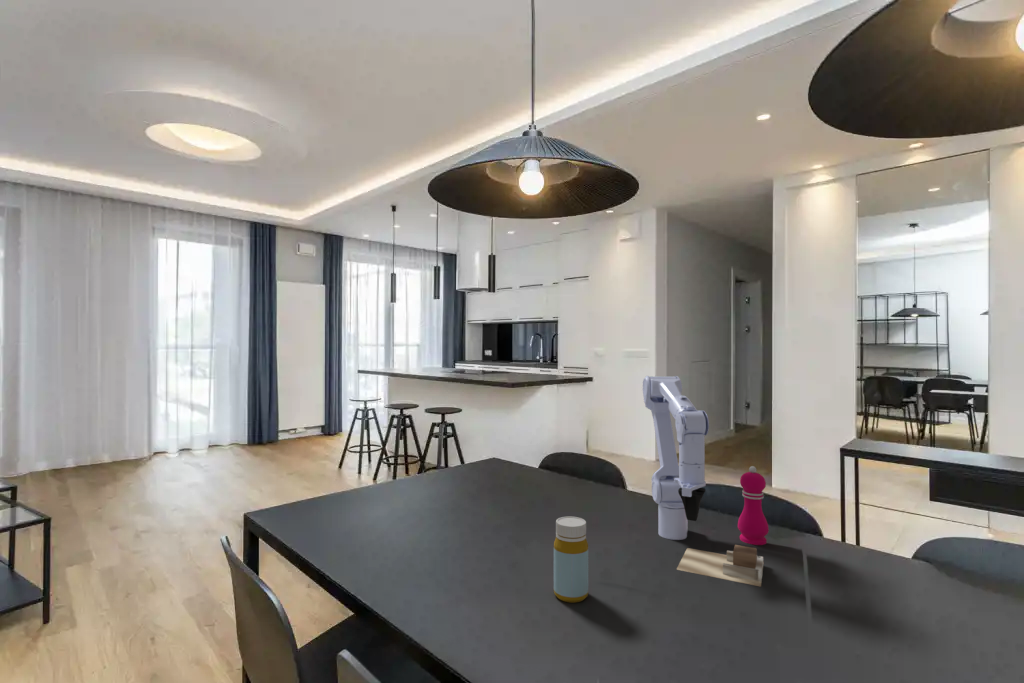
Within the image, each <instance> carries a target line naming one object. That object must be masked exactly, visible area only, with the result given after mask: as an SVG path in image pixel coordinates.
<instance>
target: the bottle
mask: <svg viewBox="0 0 1024 683" xmlns="http://www.w3.org/2000/svg"><path fill="white" fill-rule="evenodd" d="M553 593H554V595H555V597H556V598H557V599H559V600H560V601H562V602H565V603H581V602H582V601H584V600H585V599H586V598H588V595H589V542H588V540H587V521H586V520H585V519H584V518H582V517H577V516H562V517H558V518H556V520H555V539H554V541H553Z"/></svg>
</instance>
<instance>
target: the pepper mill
mask: <svg viewBox="0 0 1024 683" xmlns="http://www.w3.org/2000/svg"><path fill="white" fill-rule="evenodd" d="M739 483H740V486H741V487H742V491H741V492H742V495H741V496H742V497H743V498H744V499H743V500H744V504H743V509H742V512H741V513H740V515H739V517H738V521H737V529H738V530H739V532H740V535H739V540H740V541H741V542H742V543H746V544H749V545H752V546H753V545H755V546H763V545H766V544H767V540H768V539H767V538H766V536H767V535H768V534H769V532H770V531H769V530H770V529H769V524H768V521H767V518H766V516H765V515H764V512H763V508H762V507H763V506H762V501H763V499H764V490H765V488H766V485H767V484H766V483H767V482H766V479H765V477H764V476H763V475H762V474H761V473H759V472H757V468H756V466H754V465H751V466H750V467H749V468H748V471H747V472H744V473H743V474H742V475H741V476H740V480H739Z"/></svg>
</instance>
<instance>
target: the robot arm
mask: <svg viewBox="0 0 1024 683" xmlns="http://www.w3.org/2000/svg"><path fill="white" fill-rule="evenodd" d="M682 392H683V383H682V380H681V378H680V377H679V376H678V375H674V376H656V375H655V376H649V375H646V376H645V377H644V378H643V380H642V396H643V402H644V406H645V408H646V409H648V410H650V411H651V416H652V420H653V427H654V433H655V440H656V446H657V453H658V459H659V468H658V469H657V470H656V471H655V472H654V473H653V474H652V476H651V496H652V499H653V501H654V502H655V503H656V504H658V505H657V506H658V509H657V511H658V512H657V513H658V514H657V515H658V518H657V519H658V522H657V523H658V530H657V531H658V535H659V537H662V538H664V539H666V540H672V541H673V540H674V541H680V540H685V539H687V537H688V531H689V530H688V529H689V528H688V526H689V525H688V524H689V523H688V521H691V522H692V521H694V522H696V521H697V519H698V517H699V512H700V508H701V507H700V506H701V502H702V499H703V496H704V494H705V493H706V488H704V487H706V484H707V483H706V480H705V474H706V473H705V464H706V463H705V460H706V458H705V457H706V453H705V439H706V438H705V436H707V435H708V433H709V429H710V422H709V416H708V414H707V413H706V411H705V410H698V409H697V408H696V407H695V405H694V404H693V402H692V401H691V400H690V398H689V397H687V396H686V395H683V393H682ZM671 416H672V417H673V418H674V420H675V421H674V422H675V430H676V439H677V442H678V455H677V448H676V443H675V438H674V431H673V424H672V419H671Z"/></svg>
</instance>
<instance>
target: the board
mask: <svg viewBox="0 0 1024 683" xmlns="http://www.w3.org/2000/svg"><path fill="white" fill-rule="evenodd" d="M764 564H765V563H764V556H761V555H757V562H756V569H753V568H747V567H742V566H737V565H733V550H726V554H723V553H717V552H712V551H708V550H707V551H706V550H702V549H701V550H700V549H696V548H691V547H690V548H689V547H687V548H686V550H685V551H684V554H683V555H682V558H681V559H680V561H679V563H678V566H677V567H676V570H677V571H681V572H687V573H692V574H696V575H702V576H705V577H711V578H717V579H719V580H720V579H721V580H725V581H730V582H735V583H740V584H745V585H751V586H756V587H760V588H761V587H762V583H763V582H762V581H763V580H762V579H763V571H764Z"/></svg>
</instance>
